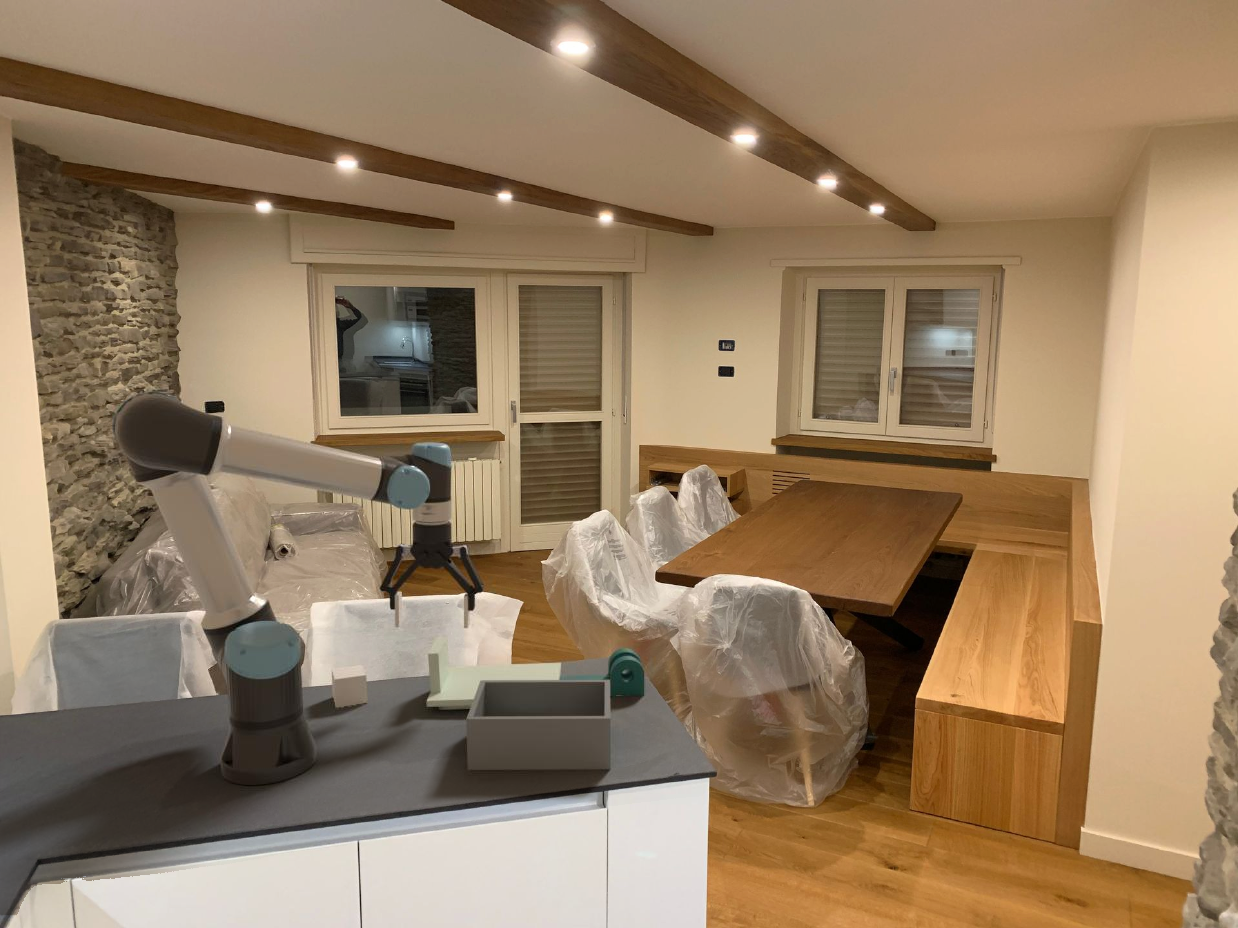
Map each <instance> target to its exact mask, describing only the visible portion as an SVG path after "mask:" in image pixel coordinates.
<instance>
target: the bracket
mask: <svg viewBox="0 0 1238 928" xmlns="http://www.w3.org/2000/svg"><path fill="white" fill-rule="evenodd" d="M607 665H608V667H607V674H590V675H589V674H588V675H587V674H586V675H566V676H562V677H561V676H560V680H610V696H612V697H617V696H616V695H638V696H645V670H644V668H643V667H644V666H643V664H642V662H641V658H640V656H639V655H638V653H637V652H636V651H635V650H633V649H631V648H624V647H622V648H619V649H617V650H615V651H614V652H612V654H611V655H610V657H609V659H608V663H607Z"/></svg>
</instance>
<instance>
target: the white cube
mask: <svg viewBox="0 0 1238 928" xmlns="http://www.w3.org/2000/svg"><path fill="white" fill-rule="evenodd" d="M331 683H332V684H331V688H332V689H331V691H332V699H334V700H333V702H335V703H334V706H335V708H336V707H341V708H345V707H344V706H348V707H350V706H349V705H354V706H357V705H356V704H361V703H367V704H368V685H367V684H368V682H367V674H366V671H365V668H364V667H363V664H359V665H352V666H345V667H343V666H342V667H337V668H331ZM361 705H362V704H361Z"/></svg>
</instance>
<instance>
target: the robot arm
mask: <svg viewBox="0 0 1238 928" xmlns="http://www.w3.org/2000/svg"><path fill="white" fill-rule="evenodd" d="M112 421H113V422H112V433H113V436H114V437H113V438H114V439H115V441H116V443H117V444H118V446H119V448H120V449H121V451H122V453H123V457H124V458H125V460H126V462H127V464H128V466H129V468H130V469H129V470H130V471H131V474H132V475H133V478H134V480H135V482H136V484H138V485H140V486H142V487H146V488H148V489H149V490H150V491H151V494H152V496H153V497H154V499H155V502H156V504H157V506H158V508H159V511H160V513H161V515H162V517H163V520H164V522H165V525H166V526H167V529H168V531H169V533H170V536H171V537H172V539H173V542H174V545H175V547H176V549H177V551H178V554H179V555H180V558H181V560H182V562H183V564H184V567H185V569H186V571H187V573H188V576H189V578H190V580H191V582H192V584H193V585H192V586H193V587H194V590H195V592H196V594H197V596H198V598H199V600H200V602H201V604H202V607H203V609H204V612H205V613H204V616H203V618H202V620H201V621H200V626H201V628H202V630H203V633H204V635H205V637H206V640H207V641H208V644H209V646H210V648H211V653H212V655H213V658H214V660H215V662H216V663H217V664H218V666H219V669H220V671H221V673H222V675H223V678H224V679H225V681H226V687H227V688H226V689H227V700H228V701H227V702H228V703H227V704H228V714H229V715H228V716H229V728H228V732H227V735H226V738H225V742H224V745H223V748H222V753H221V756H220V773H221V776H222V777H223V778H224V780H226V781H228V782H231V783H234V784H237V785H247V786H258V785H268V784H274V783H278V782H282V781H286V780H288V779H289V780H290V779H293V778H294V777H296V776H299V775H301V774H302V773H304V772H306V771H307V770H308V769H310V768H311V767H312V766H313V765H314V764H315V762H316V761H317V745H316V742H315V738H314V737H313V735H312V732H311V729H310V726H309V725H308V723H307V720H306V718H305V715H304V701H303V678H302V663H301V662H302V659H301V657H302V656H301V655H302V644H301V641H300V637H299V633H298V631H297V629H295V628H294V626H292V625H289V624H287V623H285V622H282V623H280V621H278V620H277V617H276V616H275V613H274V610H273V609H272V608H273V607H272V606H271V604H270V601H269V599H268V596H266V594H261V593H259V592H256V591H255V590H254V587H253V584H252V583H251V580H250V578H249V575H248V573H247V571H246V568H245V565H244V564H243V561H242V559H241V556H240V554H239V552H238V549H237V547H236V545H235V543H234V540H233V538H232V535H231V533H230V531H229V528H228V526H227V524H226V522H225V519H224V515H222V511H221V510H220V507H219V505H218V503H217V500H216V498H215V495H214V493H213V491H212V489H211V485H210V484H209V481H208V479H207V476H208V477H210V476H212V475H213V474H215V473H217V472H221V473H226V474H232V475H236V476H242V477H246V478H247V477H248V478H253V479H257V480H263V481H269V482H273V483H279V484H285V485H289V486H294V487H300V488H305V489H309V490H316V491H322V492H327V493H332V494H335V495H336V494H337V495H343V496H348V497H353V498H356V499H363V500H369V501H372V502H377V503H380V504H387V505H393V506H394V507H395V508H396V509H401V510H402V509H403V510H412V514H411V515H412V520H413V521H414V522H413V523H412V544H411V545H405V544H404V543H400V544H398V545H397V547H395V548H396V549H395V557H394V559H393V561H392V563H391V565H390V567H389V569H388V571H387V573H386V575H385V576H384V579H383V581H382V583H381V585H380V586H379V590H380V591H381V592H386V593H388V594H389V608H390V610H391V611H392V610H393V611H394V617H395V618H394V627H395V628H400V627H401V625H402V624H403V597H402V596H403V595H402V591H398V590H399V589H400V588H401V587H402V585H404V584H405V582H406V581H407V580H408V579H409V578H410V576H411V575H412V574H413V573H414V572H415V571H416V570H417V569H418V567H419V566H420V567H421V568H423V569H431V568H432V569H441V568H443V569H444V570H445V571H446V572H448V573H449V574H450V576H451V577H452V578H453V579H454V580H455V581H456V583H457V584H458V585H459V586H460V587H461V588H462V589H463V590H464V592H465V594H464V596H463V629H469V627H470V624H471V623H470V621H471V619H470V618H471V616H470V615H471V613H470V612H473V611H474V610H475V608H476V595H477V594H481V593H482V592H484V589H485V584H484V583H483V580H482V577H480V575H479V572H478V571H477V568H476V566H475V564H474V563H473V561H472V559H471V557H470V553H469V546H468V544H463V545H460V546H454V545H453V542H452V541H453V540H452V523H451V522H450V521H451V520H452V469H453V465H452V455H451V448H450V446H449V445H448V444H446V443H443V442H434V441H433V442H432V441H431V442H430V441H429V442H426V441H425V442H416V443H414V444H413V445H412V446H411V450H410V453H407V454H402V455H401V454H400V455H398V454H397V455H396V454H395V455H394V454H393V455H374V456H372V455H365V454H362V453H356V452H351V451H348V450H342V449H339V448H333V447H329V446H325V445H319V444H315V443H312V442H307V441H303V440H298V439H293V438H288V437H284V436H280V435H275V434H271V433H267V432H262V431H258V430H253V429H248V428H243V427H240V426H234V425H232V424H231V425H230V424H228V422H227V421H226V419H225V418H224V417H222V416H219V415H215V414H210V413H207V412H204V411H201V410H198V409H195V408H192V407H191V406H188V405H186V404H184V403H182V402H181V401H180V400H179V399H178V398H176V397H175V396H173V395H170V394H168V393H165V392H161V391H147V392H141V393H137V394H136V395H134V396H130V397H129V398H127V400H125V401H124V402H123V403H122V404H121V405H120V406H119V407H118V408H117V410H116V412H115V414H114V417H113V420H112ZM409 553H410V554H411V556H412V557H413V559H414V562H412V564H411V565H410V566H409V567H408V568H407V570H405V572H404V573H403V574H402V575H401V576H400V577H399V579H398V580H397V581H396V582H395V583H394V584H393V585H392V584H391V583H392V581H393V578H394V576H395V575H396V573H397V571H398V568H399V566H400V565H401V563H402V561H403V559H404V557H406V556H407V555H408V554H409ZM453 554H456V556H457V557H458V558H460V561H461V562H462V565H463V567H464V568H465V570H466V573H467V574H468V576H469V578H470V581H471V582H472V583H471V582H470V581H469V580H468V577H466V576H465V575H464V574H463V572H462V571H461V570H460V569H459V568H458V567H457V565H456V563H454V561H453V560H452V559H451V557H452V556H453Z"/></svg>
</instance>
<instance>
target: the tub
mask: <svg viewBox="0 0 1238 928" xmlns="http://www.w3.org/2000/svg"><path fill="white" fill-rule="evenodd" d="M465 723H466V751H467V752H466V754H467V755H466V757H467V762H466V763H467V764H466V765H467V771H501V770H502V771H514V770H515V771H516V770H517V771H519V770H524V771H525V770H528V771H529V770H531V771H532V770H537V771H539V770H540V771H543V770H545V771H546V770H552V771H553V770H611V697H610V680H481V681H480V683H479V686H478V689H477V692H476V694H475V697H474V700H473V702H472V705H471V708H470V709H469V712H468V714H467V716H466V722H465Z"/></svg>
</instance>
